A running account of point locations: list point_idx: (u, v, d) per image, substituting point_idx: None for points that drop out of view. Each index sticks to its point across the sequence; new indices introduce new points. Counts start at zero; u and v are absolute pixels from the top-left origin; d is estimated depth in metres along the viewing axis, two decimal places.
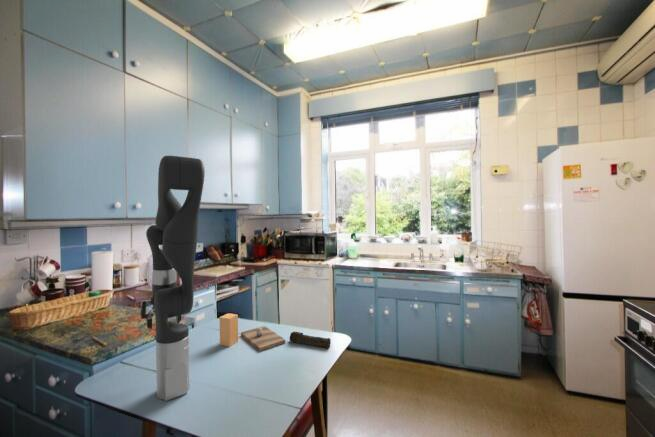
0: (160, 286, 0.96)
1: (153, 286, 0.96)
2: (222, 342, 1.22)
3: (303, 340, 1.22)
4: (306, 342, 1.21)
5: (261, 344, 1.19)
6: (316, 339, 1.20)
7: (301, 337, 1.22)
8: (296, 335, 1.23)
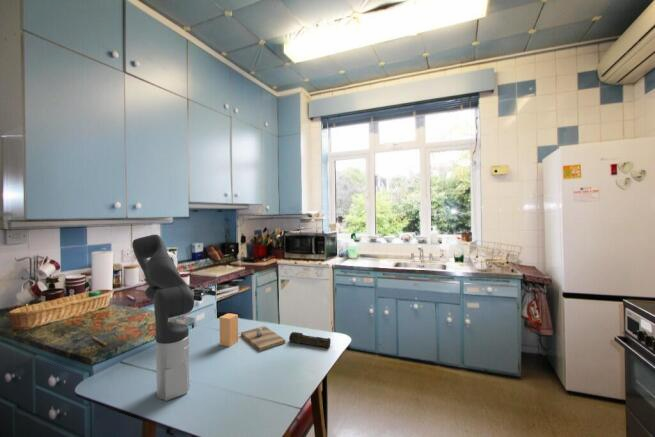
0: None
1: None
2: (222, 342, 1.22)
3: (303, 340, 1.22)
4: (306, 342, 1.21)
5: (261, 344, 1.19)
6: (316, 339, 1.20)
7: (301, 337, 1.22)
8: (296, 335, 1.23)
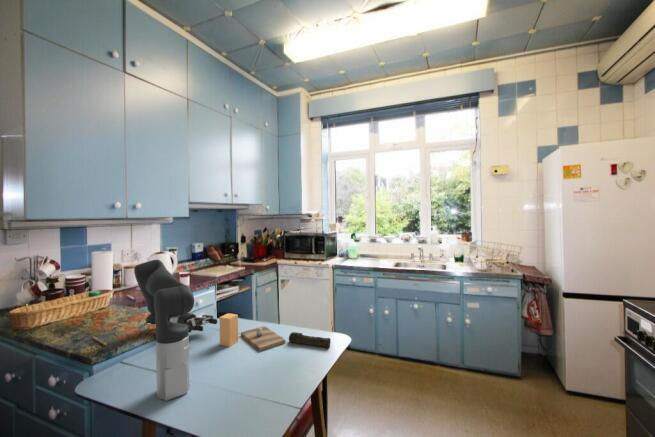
0: (181, 315, 1.32)
1: (178, 321, 1.30)
2: (222, 342, 1.22)
3: (303, 340, 1.21)
4: (306, 342, 1.21)
5: (261, 344, 1.19)
6: (316, 339, 1.20)
7: (301, 337, 1.22)
8: (295, 335, 1.23)
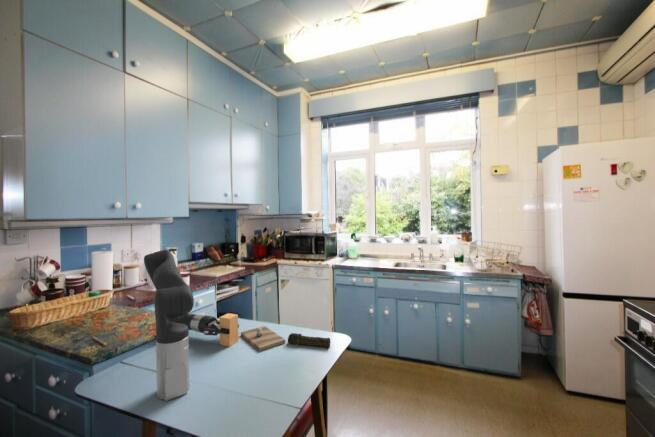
0: (202, 318, 1.27)
1: (199, 324, 1.25)
2: (222, 342, 1.22)
3: (303, 341, 1.21)
4: (306, 343, 1.21)
5: (261, 344, 1.19)
6: (316, 339, 1.20)
7: (300, 338, 1.21)
8: (295, 336, 1.22)
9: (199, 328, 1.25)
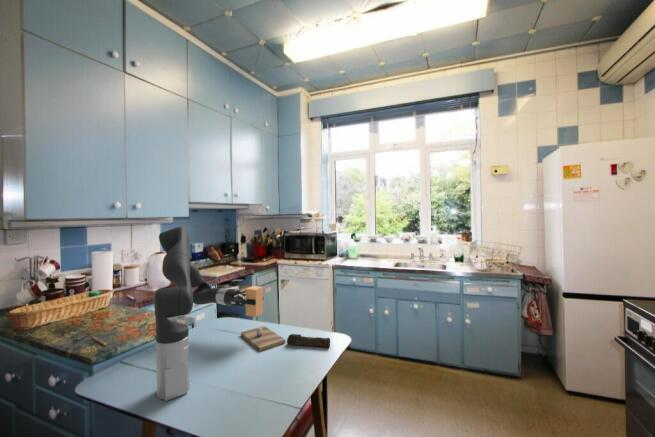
0: (227, 291, 1.30)
1: (225, 296, 1.29)
2: (248, 312, 1.25)
3: (302, 341, 1.20)
4: (306, 343, 1.20)
5: (261, 344, 1.19)
6: (316, 340, 1.20)
7: (300, 339, 1.21)
8: (295, 337, 1.21)
9: (225, 300, 1.28)
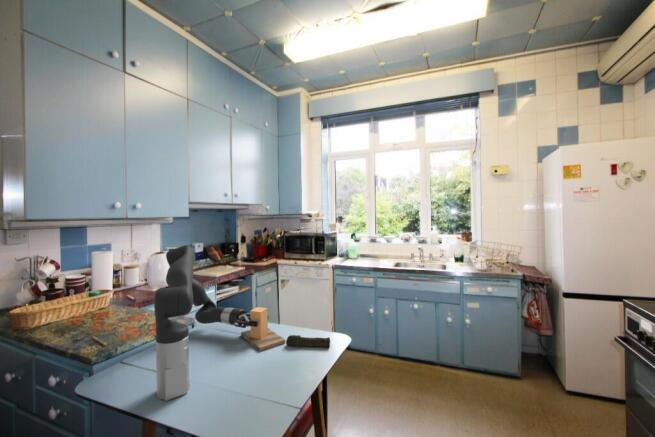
0: (232, 311, 1.31)
1: (230, 316, 1.29)
2: (253, 334, 1.26)
3: (302, 342, 1.20)
4: (306, 344, 1.19)
5: (261, 344, 1.19)
6: (316, 340, 1.19)
7: (300, 340, 1.20)
8: (294, 338, 1.20)
9: (230, 320, 1.29)
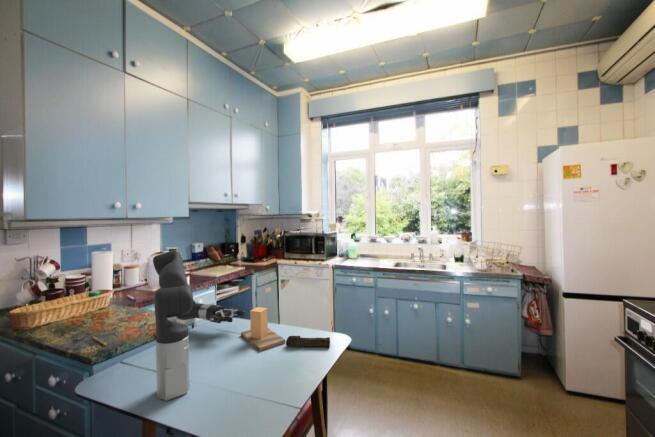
0: (209, 307, 1.35)
1: (207, 312, 1.33)
2: (253, 334, 1.26)
3: (302, 342, 1.19)
4: (306, 344, 1.19)
5: (261, 344, 1.19)
6: (316, 340, 1.19)
7: (300, 340, 1.19)
8: (294, 339, 1.20)
9: (207, 316, 1.33)
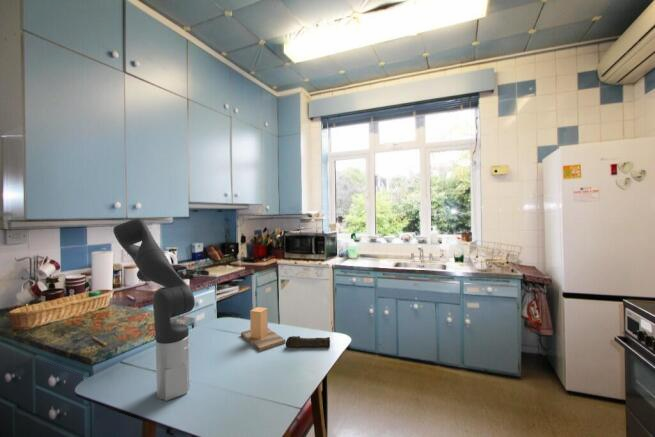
0: (172, 266, 1.28)
1: None
2: (253, 334, 1.26)
3: (302, 343, 1.19)
4: (306, 345, 1.19)
5: (261, 344, 1.19)
6: (317, 340, 1.19)
7: (300, 341, 1.19)
8: (294, 339, 1.19)
9: None
